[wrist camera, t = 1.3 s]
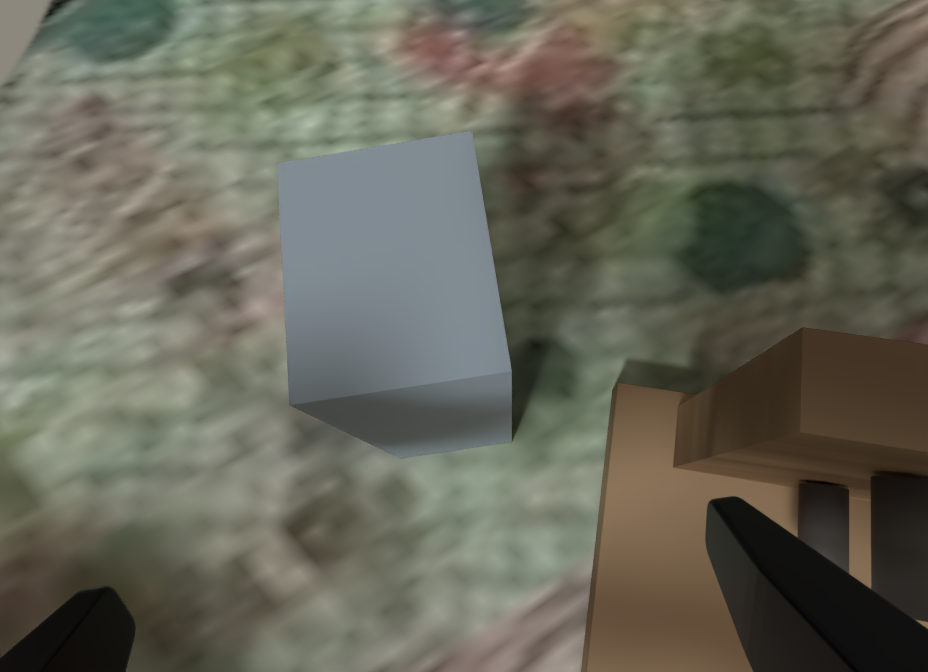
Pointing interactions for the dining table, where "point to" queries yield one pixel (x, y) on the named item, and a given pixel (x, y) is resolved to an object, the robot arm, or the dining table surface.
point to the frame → (758, 491)
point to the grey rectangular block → (395, 297)
